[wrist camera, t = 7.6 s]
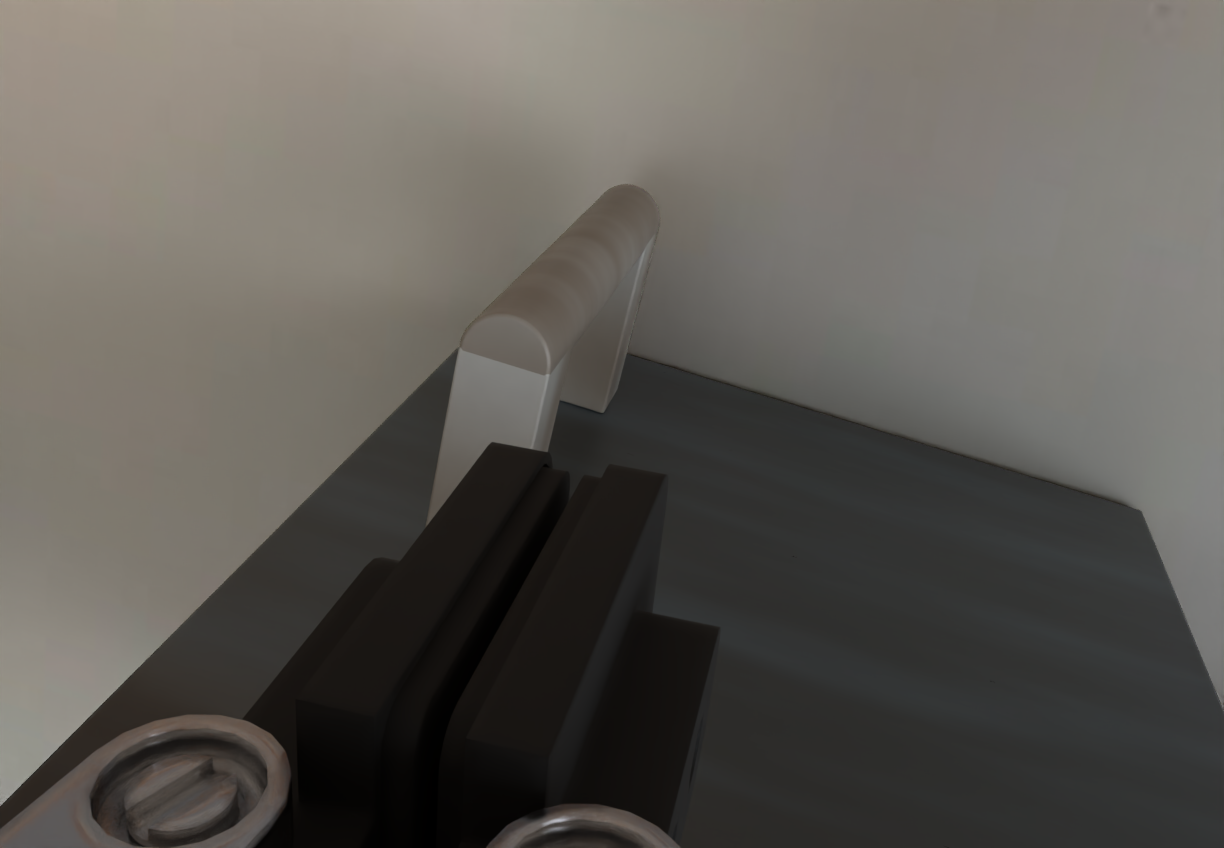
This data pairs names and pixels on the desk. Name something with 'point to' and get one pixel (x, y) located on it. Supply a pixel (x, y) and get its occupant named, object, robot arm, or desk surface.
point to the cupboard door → (773, 593)
